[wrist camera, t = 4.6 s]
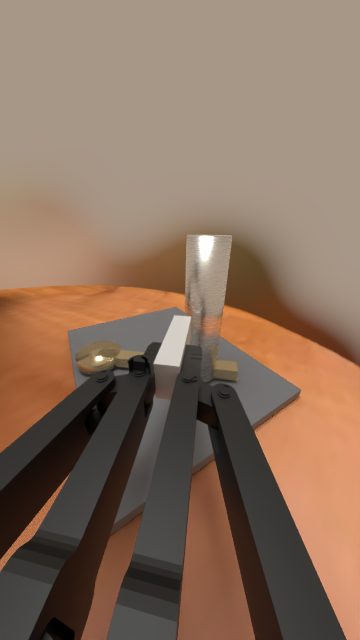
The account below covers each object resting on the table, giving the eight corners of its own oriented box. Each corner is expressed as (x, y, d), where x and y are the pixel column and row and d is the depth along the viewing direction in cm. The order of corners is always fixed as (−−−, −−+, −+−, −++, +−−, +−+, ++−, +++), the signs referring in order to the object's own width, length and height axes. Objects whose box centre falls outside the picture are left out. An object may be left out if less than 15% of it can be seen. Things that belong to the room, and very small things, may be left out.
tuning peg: (67, 371, 21) (22, 233, 15) (92, 346, 25) (66, 232, 19) (238, 392, 19) (270, 238, 12) (233, 360, 23) (254, 235, 17)
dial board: (69, 336, 31) (67, 329, 30) (175, 311, 40) (175, 306, 39) (101, 542, 11) (97, 533, 10) (298, 396, 20) (301, 388, 20)
